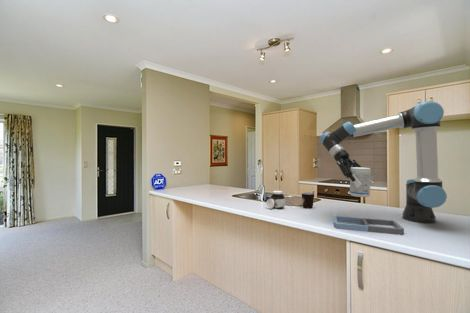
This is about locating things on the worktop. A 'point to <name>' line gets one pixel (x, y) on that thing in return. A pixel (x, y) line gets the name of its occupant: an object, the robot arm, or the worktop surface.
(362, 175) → the supplement tub
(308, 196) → the coffee mug
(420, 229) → the worktop surface
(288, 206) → the worktop surface
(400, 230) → the bay frame
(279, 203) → the spread jar
